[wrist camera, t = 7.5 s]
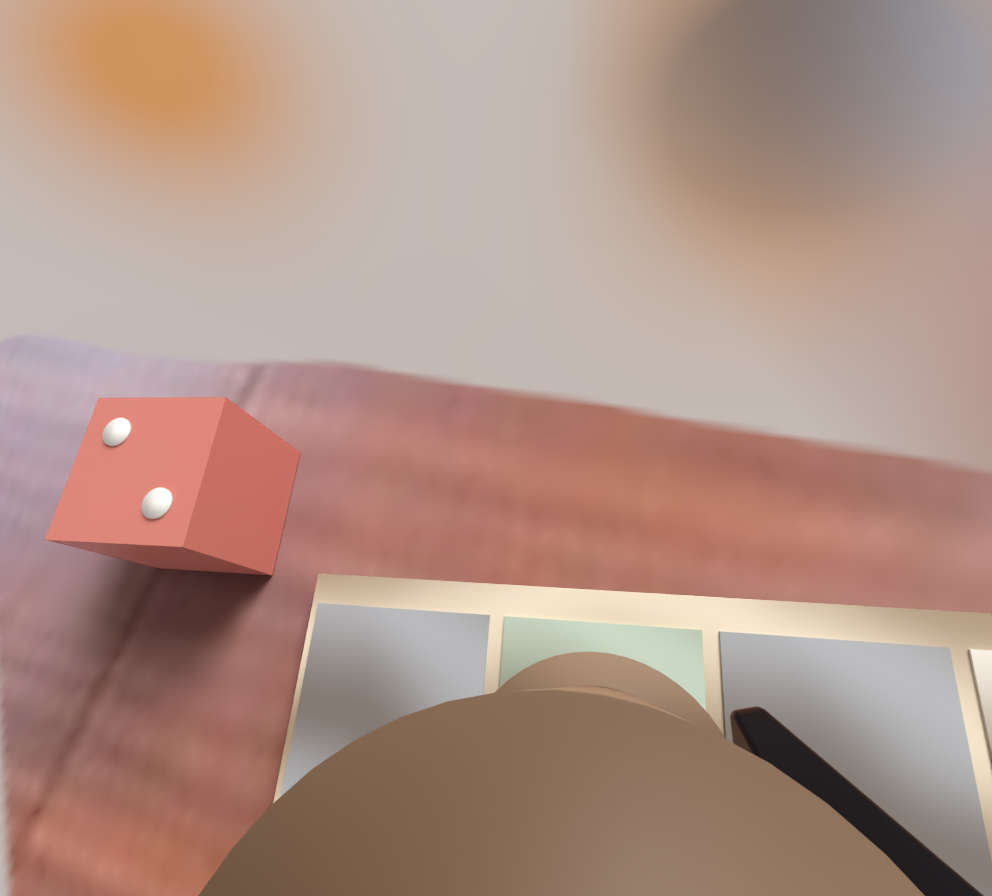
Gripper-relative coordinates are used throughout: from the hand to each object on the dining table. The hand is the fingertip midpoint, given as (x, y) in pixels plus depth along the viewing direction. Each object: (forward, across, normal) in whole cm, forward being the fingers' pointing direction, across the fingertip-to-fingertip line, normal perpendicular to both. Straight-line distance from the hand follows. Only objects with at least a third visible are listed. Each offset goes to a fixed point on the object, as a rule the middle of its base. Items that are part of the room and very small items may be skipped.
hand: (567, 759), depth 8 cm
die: (+14, +12, +1) cm, 19 cm away
